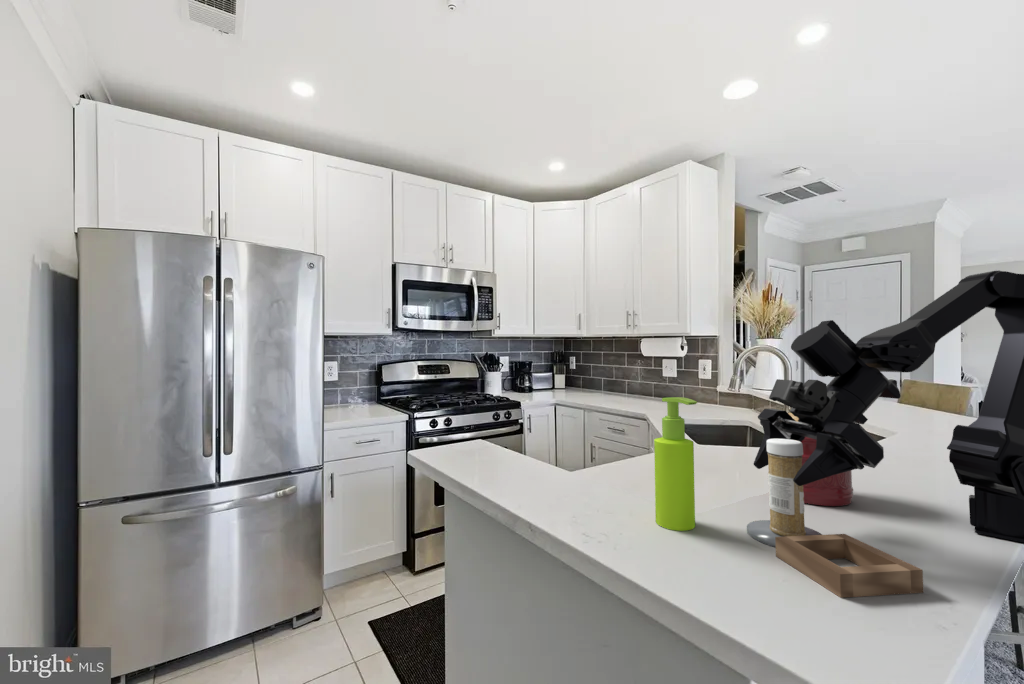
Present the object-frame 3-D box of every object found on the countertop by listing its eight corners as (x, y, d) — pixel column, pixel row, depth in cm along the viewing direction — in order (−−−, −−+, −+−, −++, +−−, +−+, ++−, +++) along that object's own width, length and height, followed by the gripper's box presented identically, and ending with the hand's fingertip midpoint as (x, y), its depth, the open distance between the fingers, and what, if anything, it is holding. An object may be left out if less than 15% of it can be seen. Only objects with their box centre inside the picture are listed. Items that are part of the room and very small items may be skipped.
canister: (773, 482, 91) (771, 399, 92) (851, 493, 83) (848, 402, 84) (767, 498, 80) (764, 404, 81) (856, 513, 73) (852, 408, 74)
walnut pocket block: (845, 552, 58) (844, 533, 58) (923, 592, 48) (922, 569, 48) (775, 556, 57) (775, 536, 57) (840, 597, 47) (840, 574, 47)
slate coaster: (835, 537, 63) (835, 533, 63) (817, 559, 56) (817, 554, 56) (759, 519, 70) (759, 515, 70) (736, 536, 63) (736, 532, 63)
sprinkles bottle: (813, 537, 61) (810, 442, 62) (788, 540, 60) (785, 443, 61) (785, 525, 66) (782, 436, 66) (761, 528, 64) (758, 438, 65)
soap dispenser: (682, 536, 63) (679, 399, 64) (647, 520, 69) (645, 396, 70) (709, 528, 66) (706, 398, 67) (673, 514, 72) (671, 395, 73)
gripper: (767, 360, 73) (705, 426, 73) (858, 360, 55) (775, 448, 54) (814, 406, 73) (752, 472, 73) (921, 422, 55) (839, 511, 54)
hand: (774, 474), depth 63 cm, fingers open, 9 cm apart
